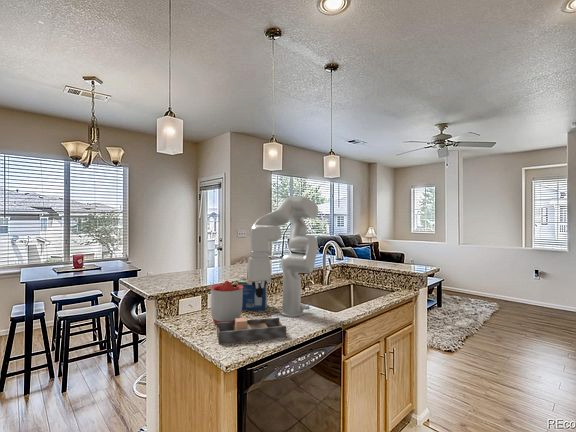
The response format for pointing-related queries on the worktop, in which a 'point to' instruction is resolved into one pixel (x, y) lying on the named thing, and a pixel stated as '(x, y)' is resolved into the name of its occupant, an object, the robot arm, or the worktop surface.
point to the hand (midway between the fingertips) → (259, 296)
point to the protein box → (253, 297)
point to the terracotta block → (240, 323)
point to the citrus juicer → (226, 302)
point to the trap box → (250, 330)
